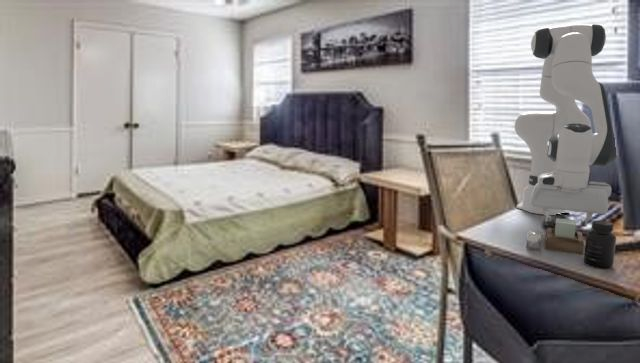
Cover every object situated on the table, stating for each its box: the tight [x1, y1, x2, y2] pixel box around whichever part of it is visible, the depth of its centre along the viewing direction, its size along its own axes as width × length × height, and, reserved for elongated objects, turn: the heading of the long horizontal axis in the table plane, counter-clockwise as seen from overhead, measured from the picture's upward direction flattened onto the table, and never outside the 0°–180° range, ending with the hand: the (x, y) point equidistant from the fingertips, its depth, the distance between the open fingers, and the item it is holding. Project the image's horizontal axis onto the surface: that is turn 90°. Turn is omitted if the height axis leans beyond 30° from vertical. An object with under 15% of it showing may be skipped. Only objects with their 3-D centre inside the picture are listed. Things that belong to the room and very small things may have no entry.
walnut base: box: [544, 227, 585, 255], centre depth 133 cm, size 10×10×4 cm
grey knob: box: [525, 230, 543, 252], centre depth 132 cm, size 4×4×5 cm
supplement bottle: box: [583, 219, 617, 270], centre depth 118 cm, size 7×7×12 cm
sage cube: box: [554, 217, 577, 238], centre depth 133 cm, size 5×5×5 cm
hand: (565, 223), depth 133 cm, fingers open, 8 cm apart
